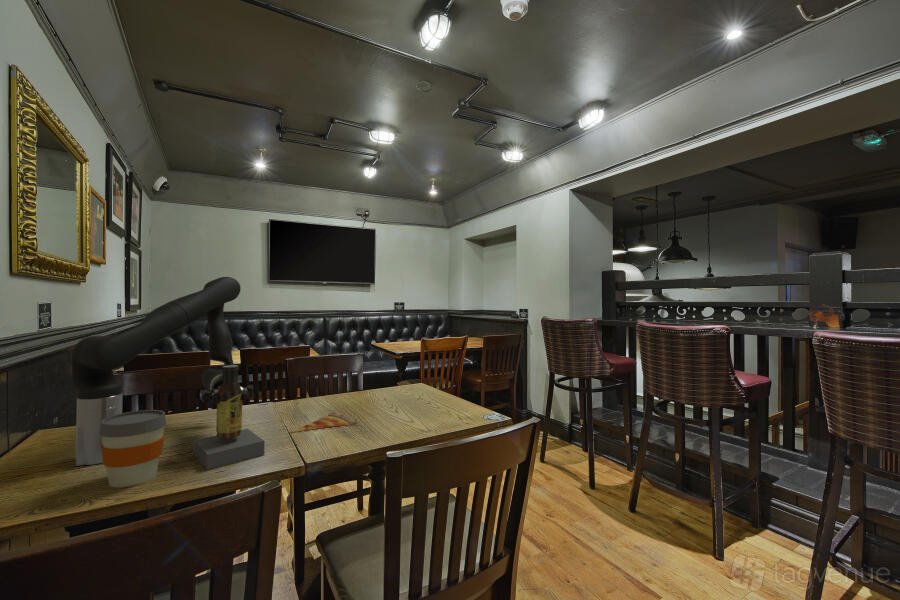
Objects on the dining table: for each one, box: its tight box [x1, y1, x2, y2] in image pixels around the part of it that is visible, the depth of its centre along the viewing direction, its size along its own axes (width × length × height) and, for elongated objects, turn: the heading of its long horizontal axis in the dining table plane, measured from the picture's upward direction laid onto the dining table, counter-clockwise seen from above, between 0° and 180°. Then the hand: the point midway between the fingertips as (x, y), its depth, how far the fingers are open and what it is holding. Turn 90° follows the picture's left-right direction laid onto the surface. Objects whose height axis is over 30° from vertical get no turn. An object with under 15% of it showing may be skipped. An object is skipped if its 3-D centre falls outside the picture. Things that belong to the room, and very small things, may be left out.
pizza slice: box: [289, 411, 358, 434], centre depth 138 cm, size 16×22×2 cm
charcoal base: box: [193, 428, 265, 471], centre depth 109 cm, size 14×14×4 cm
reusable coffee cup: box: [99, 409, 167, 488], centre depth 94 cm, size 13×13×15 cm
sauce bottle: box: [215, 364, 243, 439], centre depth 109 cm, size 7×6×20 cm
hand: (231, 399), depth 107 cm, fingers closed on sauce bottle, 6 cm apart
